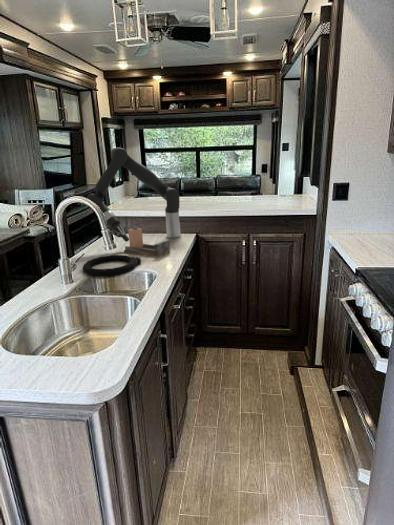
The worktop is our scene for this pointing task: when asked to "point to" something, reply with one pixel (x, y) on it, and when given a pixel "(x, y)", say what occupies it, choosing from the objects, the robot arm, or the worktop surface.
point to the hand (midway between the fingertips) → (127, 240)
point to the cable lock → (113, 271)
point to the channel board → (150, 249)
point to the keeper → (135, 237)
